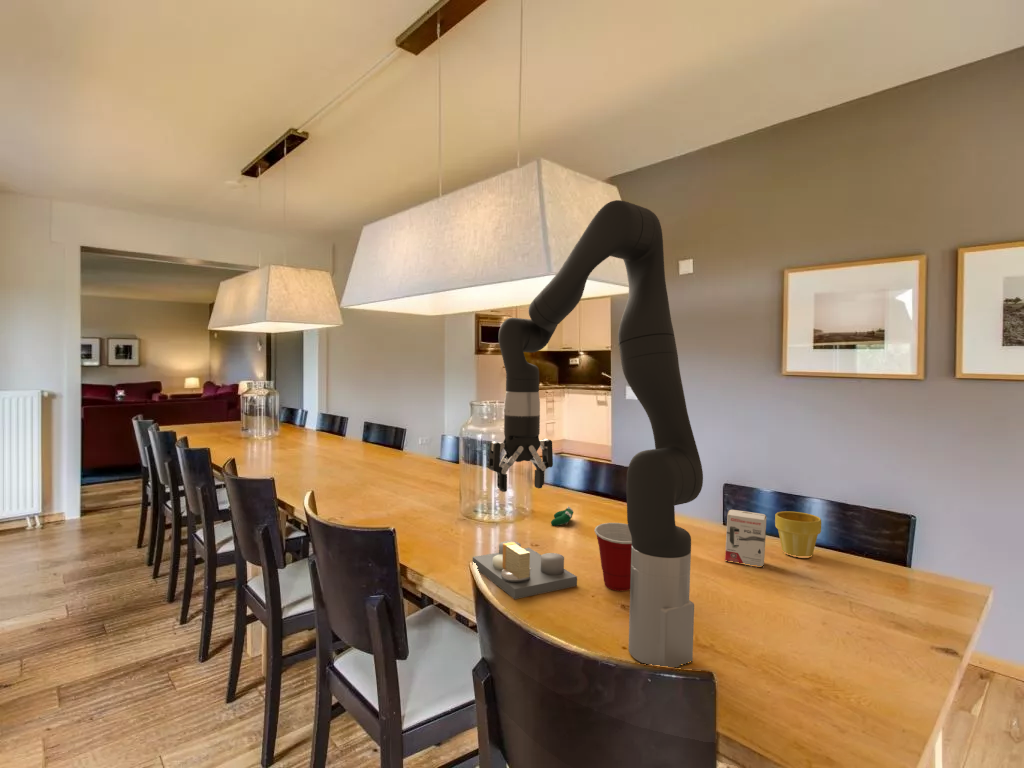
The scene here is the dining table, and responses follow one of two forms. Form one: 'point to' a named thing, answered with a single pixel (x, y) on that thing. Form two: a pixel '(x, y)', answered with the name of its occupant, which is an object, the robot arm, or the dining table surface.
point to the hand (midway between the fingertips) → (521, 489)
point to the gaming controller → (562, 517)
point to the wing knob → (515, 563)
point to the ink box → (745, 537)
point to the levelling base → (543, 573)
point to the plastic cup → (615, 554)
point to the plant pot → (797, 532)
